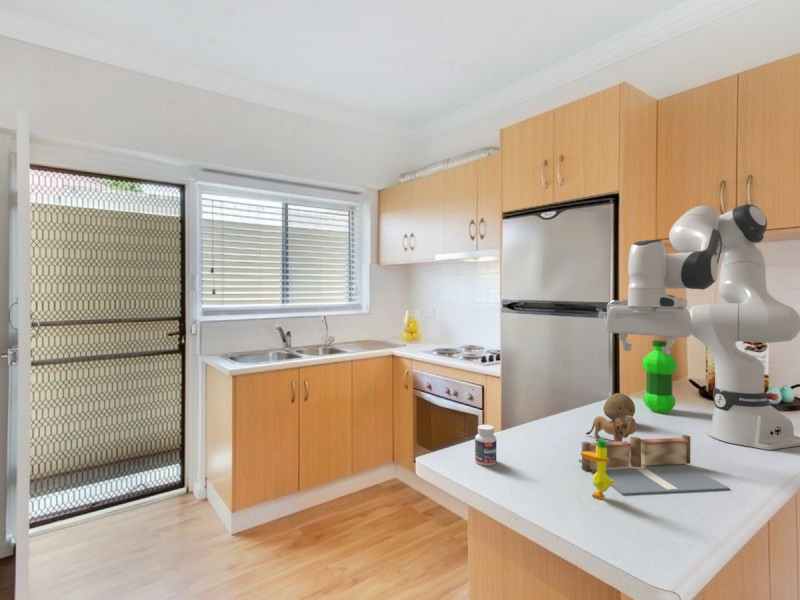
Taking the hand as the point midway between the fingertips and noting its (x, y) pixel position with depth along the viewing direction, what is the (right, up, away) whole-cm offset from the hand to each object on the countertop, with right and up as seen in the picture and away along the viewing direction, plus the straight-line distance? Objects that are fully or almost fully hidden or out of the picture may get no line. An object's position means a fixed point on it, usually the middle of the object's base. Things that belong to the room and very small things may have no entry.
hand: (646, 352), depth 113 cm
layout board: (-8, -27, -14) cm, 31 cm away
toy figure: (-24, -27, -25) cm, 44 cm away
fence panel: (-1, -26, -10) cm, 28 cm away
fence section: (-15, -27, -11) cm, 32 cm away
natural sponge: (+5, -26, +23) cm, 35 cm away
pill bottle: (-44, -27, -6) cm, 52 cm away
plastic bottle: (+27, -26, +38) cm, 53 cm away
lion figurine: (-6, -27, +6) cm, 28 cm away
